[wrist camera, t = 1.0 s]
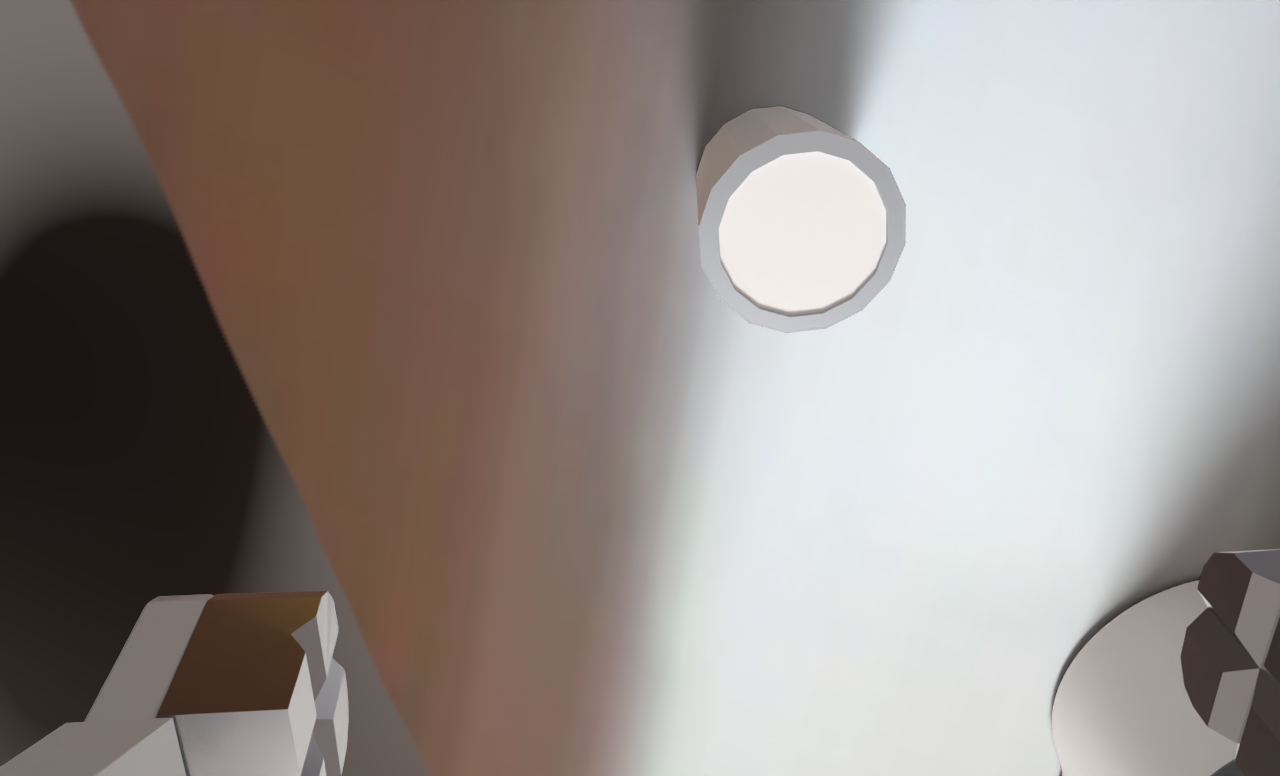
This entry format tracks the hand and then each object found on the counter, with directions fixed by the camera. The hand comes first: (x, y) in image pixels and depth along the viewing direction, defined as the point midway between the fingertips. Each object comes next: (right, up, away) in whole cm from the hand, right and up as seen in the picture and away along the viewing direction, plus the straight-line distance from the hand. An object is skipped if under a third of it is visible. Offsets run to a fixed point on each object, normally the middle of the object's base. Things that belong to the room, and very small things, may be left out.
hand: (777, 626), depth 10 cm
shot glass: (+4, +10, +32) cm, 34 cm away
